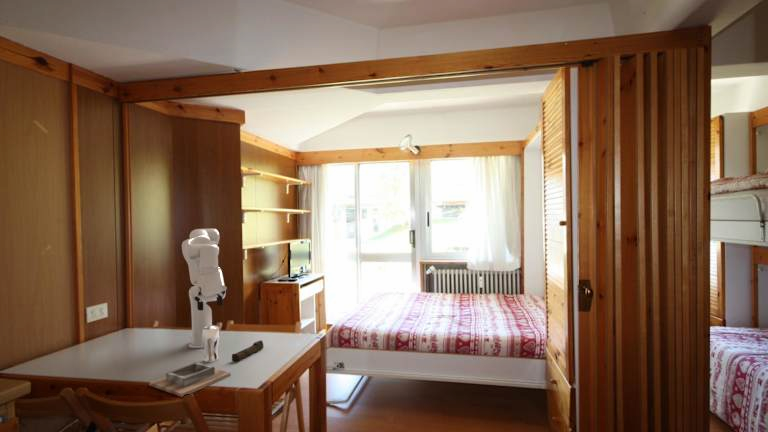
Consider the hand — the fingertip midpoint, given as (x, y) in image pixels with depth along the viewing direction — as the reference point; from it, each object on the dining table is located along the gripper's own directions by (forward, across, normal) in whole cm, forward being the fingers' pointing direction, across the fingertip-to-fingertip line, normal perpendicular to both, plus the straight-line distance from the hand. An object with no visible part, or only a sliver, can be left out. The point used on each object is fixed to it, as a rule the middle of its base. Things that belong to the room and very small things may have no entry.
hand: (210, 307), depth 165 cm
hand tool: (+24, -12, +11) cm, 29 cm away
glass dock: (+24, +18, +13) cm, 33 cm away
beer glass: (+24, 0, 0) cm, 24 cm away
